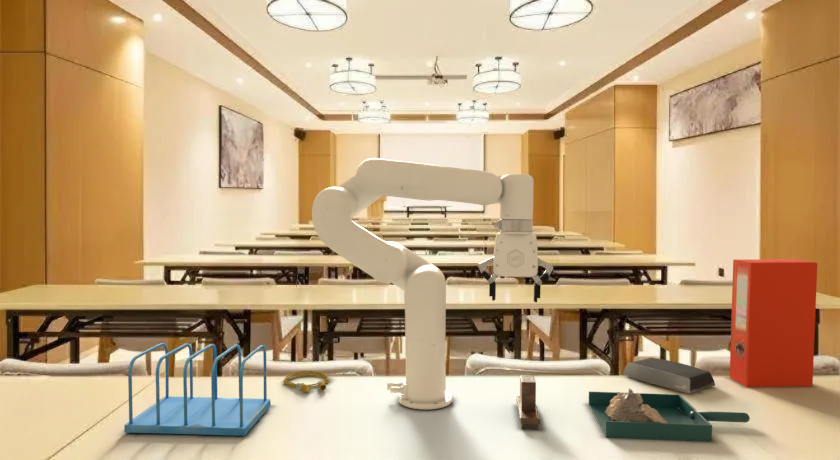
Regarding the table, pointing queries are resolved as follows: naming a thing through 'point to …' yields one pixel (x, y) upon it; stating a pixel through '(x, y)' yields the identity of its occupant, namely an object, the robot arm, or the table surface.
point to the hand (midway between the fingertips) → (514, 300)
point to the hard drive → (670, 374)
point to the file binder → (773, 322)
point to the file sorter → (198, 403)
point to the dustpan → (669, 406)
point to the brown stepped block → (528, 403)
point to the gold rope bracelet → (303, 386)
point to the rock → (632, 409)
